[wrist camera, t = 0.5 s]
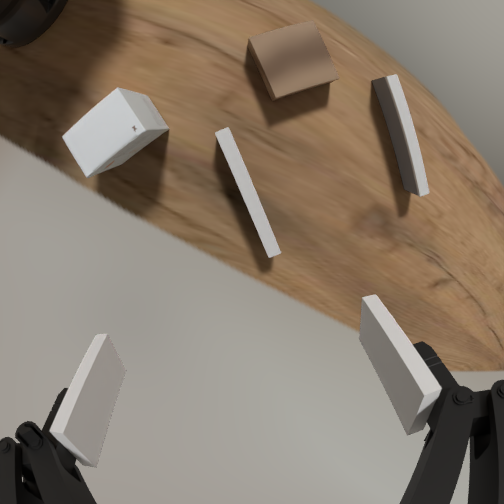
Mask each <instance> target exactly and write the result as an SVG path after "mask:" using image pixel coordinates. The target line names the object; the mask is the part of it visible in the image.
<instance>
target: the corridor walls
mask: <svg viewBox="0 0 504 504" xmlns="http://www.w3.org/2000/svg"><path fill="white" fill-rule="evenodd" d="M372 83H373V86H374V89H375V91H376V94H377V97H378V100H379V103H380V106H381V109H382V112H383V115H384V118H385V121H386V124H387V127H388V130H389V134H390V137H391V140H392V144H393V147H394V151H395V155H396V158H397V162H398V166H399V170H400V174H401V178H402V182H403V187H404V190H407V191H409V192H411V193H413V194H416V195H418V196H419V197H421V196H424V195H426V194H428V193H429V189H428V184H427V179H426V174H425V169H424V165H423V160H422V156H421V152H420V148H419V144H418V140H417V136H416V133H415V129H414V125H413V122H412V118H411V115H410V112H409V109H408V105H407V102H406V99H405V96H404V93H403V90H402V87H401V85H400V82H399V79H398V76H397V74H396V75H391V76H387V77H383V78H379V79H376V80H372ZM215 134H216V137H217V139H218V141H219V144H220V146H221V148H222V150H223V153H224V155H225V157H226V160H227V162H228V164H229V166H230V169H231V171H232V173H233V176H234V178H235V180H236V183H237V185H238V187H239V189H240V192H241V194H242V196H243V199H244V201H245V203H246V206H247V208H248V210H249V213H250V215H251V217H252V220H253V222H254V224H255V227H256V229H257V231H258V234H259V236H260V238H261V241H262V243H263V246H264V248H265V250H266V253H267V255H268V257H269V258H270V257H273V256H275V255H278V254H280V253H281V251H280V249H279V246H278V244H277V241H276V239H275V237H274V234H273V232H272V229H271V227H270V224H269V222H268V219H267V217H266V214H265V212H264V210H263V207H262V205H261V202H260V200H259V197H258V195H257V193H256V190H255V188H254V185H253V183H252V181H251V178H250V176H249V174H248V171H247V169H246V166H245V164H244V162H243V159H242V157H241V155H240V152H239V150H238V148H237V145H236V143H235V141H234V138H233V136H232V134H231V131H230V129H229V127H227V128H225V129H222V130H220V131H218V132H215Z"/></svg>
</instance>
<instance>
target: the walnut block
mask: <svg viewBox="0 0 504 504" xmlns="http://www.w3.org/2000/svg"><path fill="white" fill-rule="evenodd" d="M247 46H248V49H249V51H250V53H251V55H252V57H253V59H254V61H255V64H256V66H257V68H258V70H259V72H260V75H261V77H262V79H263V81H264V84H265V86H266V88H267V91H268V93H269V95H270V98H271V100H272V101H274V100H277V99H280V98H283V97H285V96H288V95H291V94H294V93H298V92H301V91H304V90H307V89H310V88H314V87H317V86H320V85H324V84H327V83H330V82H333V81H335V80H337V79H339V76H338V73H337V71H336V69H335V66H334V64H333V62H332V59H331V57H330V55H329V53H328V50H327V48H326V46H325V44H324V42H323V39H322V37H321V35H320V33H319V31H318V29H317V27H316V25H315V23H314V21H313V20H312V21H307V22H303V23H299V24H294V25H291V26H287V27H283V28H279V29H276V30H272V31H269V32H265V33H262V34H259V35H256V36H253V37H249V39H248V45H247Z"/></svg>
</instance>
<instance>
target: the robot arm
mask: <svg viewBox="0 0 504 504" xmlns="http://www.w3.org/2000/svg"><path fill="white" fill-rule="evenodd" d="M66 2H67V0H0V44H1V45H3V46H8V47H20V46H24V45H26V44H28V43H30V42H32V41H33V40H35V39H36V38H37V37H39V36H40V35H41V34H42V33H43V32H45V31H46V30H47V29H48V28H49V27H50V25H51V24H52V23H53V22H54V21H55V20H56V18H57V17H58V16H59V14H60V13H61V11H62V9H63V8H64V6H65V4H66ZM359 339H360V342H361V343H362V345H363V347H364V349H365V351H366V353H367V355H368V357H369V359H370V361H371V362H372V365H373V367H374V369H375V370H376V372H377V374H378V376H379V378H380V380H381V382H382V384H383V386H384V388H385V390H386V392H387V394H388V396H389V398H390V400H391V402H392V405H393V406H394V409H395V410H396V413H397V415H398V417H399V419H400V421H401V423H402V425H403V427H404V430H405V432H406V434H407V435H410V434H413V433H415V432H418V431H420V430H423V429H424V427H425V425H426V423H428V425H429V426H430V431H429V432H428V434H427V436H426V438H425V440H424V441H425V444H424V447H423V450H422V453H421V455H420V458H419V461H418V463H417V466H416V468H415V471H414V473H413V475H412V478H411V480H410V482H409V485H408V487H407V489H406V491H405V493H404V495H403V498H402V500H401V502H400V504H450V501H451V499H452V496H453V493H454V490H455V487H456V484H457V481H458V477H459V474H460V471H461V468H462V464H463V461H464V457H465V453H466V449H467V445H468V440H469V437H470V477H469V494H468V504H504V380H500V381H497V382H495V383H494V384H493V386H492V388H491V390H485V391H479V392H473V391H472V390H470V389H469V388H467V387H464V386H459V385H458V384H457V382H456V381H455V379H454V378H453V376H452V375H451V373H450V372H449V371H448V369H447V368H446V366H445V365H444V364H443V363H442V361H441V359H440V358H439V357H437V354H436V353H435V351H434V350H433V349H432V347H430V346H429V345H427V344H426V343H424V342H423V341H422V342H419V343H416V344H412V343H411V342H410V340H409V339H408V338H407V336H406V335H405V333H404V332H403V331H402V329H401V328H400V326H399V325H398V324H397V322H396V321H395V319H394V318H393V317H392V315H391V314H390V313H389V311H388V310H387V309H386V307H385V306H384V305H383V303H382V302H381V301H380V299H379V298H378V297H377V295H376V294H375V295H370V296H366V297H362V307H361V323H360V337H359ZM125 373H126V369H125V367H124V365H123V363H122V361H121V360H120V358H119V356H118V354H117V352H116V350H115V348H114V346H113V344H112V342H111V340H110V337H109V335H108V334H96V335H95V338H94V339H93V341H92V343H91V345H90V347H89V349H88V350H87V352H86V354H85V356H84V358H83V360H82V362H81V364H80V366H79V368H78V370H77V372H76V374H75V376H74V378H73V380H72V382H71V384H70V386H69V388H64V389H63V390H62V391H61V392H60V394H59V395H58V396H57V399H56V401H55V404H54V405H53V407H52V411H50V414H49V416H48V418H47V420H46V422H45V425H44V427H43V429H42V431H41V430H40V428H39V427H38V426H37V425H36V424H35V423H33V422H30V421H27V422H24V423H22V424H21V425H20V426H19V427H18V428H17V431H16V433H15V438H16V439H17V440H18V441H19V442H20V443H16V442H15V441H14V440H13V439H12V438H10V437H5V438H3V439H1V441H0V504H97V503H96V502H95V500H94V498H93V496H92V494H91V493H90V491H89V489H88V487H87V485H86V483H85V481H84V479H83V477H82V475H81V473H80V471H79V469H78V467H77V466H76V465H75V462H76V459H77V460H78V461H79V462H80V463H81V464H82V465H85V466H90V467H97V464H98V460H99V457H100V453H101V449H102V446H103V442H104V439H105V436H106V432H107V429H108V425H109V422H110V419H111V416H112V412H113V409H114V406H115V403H116V400H117V397H118V394H119V391H120V387H121V385H122V382H123V379H124V376H125ZM22 477H23V482H22Z"/></svg>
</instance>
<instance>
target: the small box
mask: <svg viewBox="0 0 504 504" xmlns="http://www.w3.org/2000/svg"><path fill="white" fill-rule="evenodd" d="M167 130H169V128H168V126H167V125H166V123H165V122H164V120H163V118H162V117H161V115H160V114H159V112H158V111H157V109H156V108H155V106H154V105H153V103H152V102H151V100H150V99H149V97H148V96H147V95H143V94H140V93H136V92H133V91H129V90H126V89H122V88H118V87H117V88H116V89H115V90H113V91H112V92H111V93H110V94H108V95H107V96H106V97H105V98H104V99H102V100H101V101H100V102H99V103H98V104H97V105H95V106H94V107H93V108H92V109H91V110H90V111H89V112H87V113H86V114H85V115H84V116H83V117H82V118H81V119H80V120H79V121H78V122H77V123H75V124H74V125H73V126H72V127H71V128H70V129H69V130H68V131H67V132H66V133H65V134H64V135H63V136H62V138H63V140H64V141H65V143H66V145H67V146H68V148H69V150H70V151H71V153H72V155H73V156H74V158H75V160H76V161H77V163H78V165H79V166H80V168H81V170H82V171H83V173H84V174H85V176H86V177H87V178H89V177H92V176H94V175H96V174H99V173H101V172H104V171H106V170H109V169H111V168H114V167H116V166H119V165H121V164H123V163H124V162H125V161H127V160H128V159H129V158H130V157H132V156H133V155H134V154H136V153H137V152H138V151H140V150H141V149H142V148H144V147H145V146H146V145H148V144H149V143H150V142H152V141H153V140H155V139H156V138H157V137H159V136H160V135H162V134H163V133H164V132H166V131H167Z"/></svg>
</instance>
